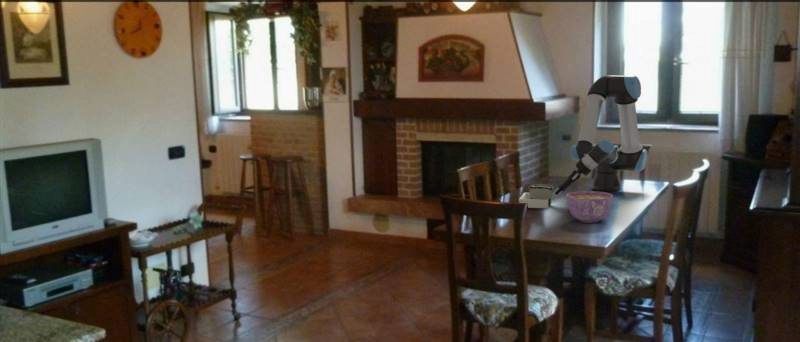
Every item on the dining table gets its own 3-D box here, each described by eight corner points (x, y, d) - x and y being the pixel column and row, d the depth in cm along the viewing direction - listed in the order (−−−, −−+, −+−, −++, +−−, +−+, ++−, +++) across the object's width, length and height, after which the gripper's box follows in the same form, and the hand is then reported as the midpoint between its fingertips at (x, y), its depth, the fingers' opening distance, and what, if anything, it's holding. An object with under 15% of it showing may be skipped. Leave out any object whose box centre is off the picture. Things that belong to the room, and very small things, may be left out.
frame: (551, 201, 375) (551, 193, 374) (548, 208, 358) (548, 200, 357) (524, 200, 379) (524, 192, 378) (519, 207, 362) (519, 199, 361)
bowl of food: (605, 227, 315) (605, 200, 313) (559, 223, 325) (559, 197, 323) (618, 218, 331) (618, 192, 330) (574, 214, 342) (574, 189, 340)
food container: (556, 204, 366) (556, 184, 364) (553, 206, 360) (553, 186, 359) (531, 203, 371) (531, 183, 370) (528, 205, 366) (528, 185, 364)
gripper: (581, 157, 365) (546, 190, 372) (580, 161, 353) (544, 195, 360) (592, 168, 364) (557, 201, 371) (591, 172, 352) (555, 206, 359)
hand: (551, 198), depth 366 cm, fingers closed
